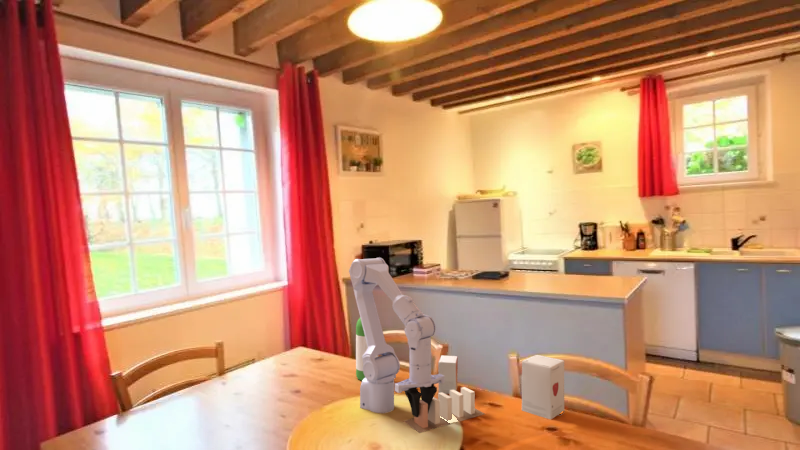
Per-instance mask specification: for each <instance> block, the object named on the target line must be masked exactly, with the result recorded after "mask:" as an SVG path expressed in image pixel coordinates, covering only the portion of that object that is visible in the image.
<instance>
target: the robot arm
mask: <svg viewBox="0 0 800 450" xmlns="http://www.w3.org/2000/svg"><path fill="white" fill-rule="evenodd" d="M348 273H349V276H350V281H351V285H352V288H353V289H352V290H353V293H354V297H355V302H356V307H357V309H358V313H359V318H361V322H362V326H363V330H364V334H365V338H366V342H367V346H368V349H367V350H366V352H365V353H364V355H363V356H362V359H363V373H364V375H365V378H364V379H363V381H362V380H361V384H360V387H359V391H360V392H359V399H360V400H359V409H363V410H366V411H367V410H368V411H370V412H372V413H375V414H376V413H377V414H387V413H391V412H392V411H394V410H395V409H394V408H395V393H397V394H400V393H402V392H404V393H405V396H406V397H407V400H408V402H409V406H410V408H411V413H412V416H415V417H419V403H420V399H421V400H422V401H424V402H425V403H427V404H428V413H429V409H430V405H431V402H432V399H433V397H434V398H435V395H436V393H437V391H438V387H436V384H439V383H445V376H444V375H441V374H438V373H437V374H432V337H434V335H435V333H436V328H437V327H436V324H435V321H434V319H433V317H431V316H430V315H429V314H425V313H424V312H422V311H421V310H420V308H419V307H418V306H417V304H415V302H414V299H413V298H412V296H409V295H406V294H405V295H404V294H403V292H402V291H401V290H400V288H399V286H398V285H397V283H396V282H395V280H394V279H393V277H392V276H391V274H390V272H389V265H388V264H387V263H386V261H385V260H384V258H382V257H376V258H363V259H360V258H355V259H354V260H353V261H352V262H351V264H350V266H349V269H348ZM377 286H379V288H380V289H381V290H382V291H383V293H384V294H385V295H386V296H387V297H388V299H390V301H391V302H392V304H391V305H392V306H391V307H392V310H393V312H394V313H395V314H396V316H397V317H398V318H399V320H400V321H401V322H402V325H404V329H403V330H404V331H403V332H404V333H405V336H406V339H407V345H408V348H409V349H408V351H409V355H408V356H409V357H408V359H409V365H408V366H409V377H408V378H406V379H403V380H401V381H399V382H395V379H396V378H397V374H398V373H399V372H400V369H401V367H400V365H401V363H400V359H399V358H398V356H397V354H396V352H395V350H394V347H393V346H391V345H390V344H388V343H387V342H386V340H385V339H386V338H385V334H384V330H383V327H382V323H381V320H380V315H379V312H378V308H377V304H376V300H375V296H374V292H373V291H374V290H375V287H377ZM376 355H378V357H376ZM375 357H376V358H375ZM418 388H419V389H418ZM419 391H420V392H419Z"/></svg>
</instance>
